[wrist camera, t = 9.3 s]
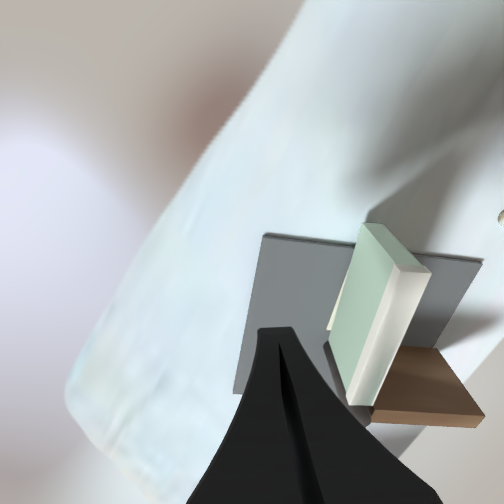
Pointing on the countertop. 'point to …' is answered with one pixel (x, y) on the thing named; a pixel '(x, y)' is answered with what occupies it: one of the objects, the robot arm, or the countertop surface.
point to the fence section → (414, 392)
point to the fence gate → (374, 311)
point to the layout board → (335, 298)
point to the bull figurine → (501, 218)
